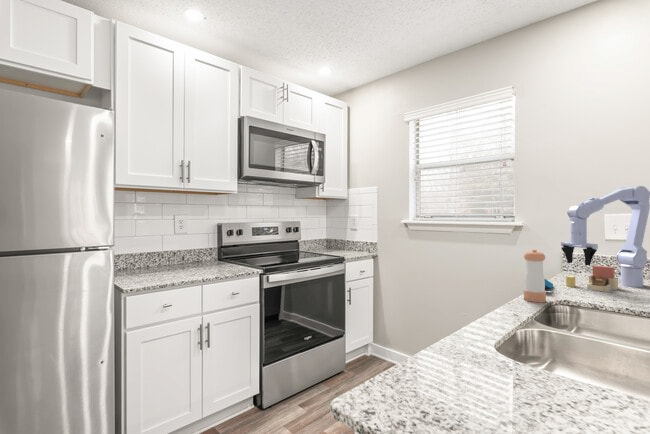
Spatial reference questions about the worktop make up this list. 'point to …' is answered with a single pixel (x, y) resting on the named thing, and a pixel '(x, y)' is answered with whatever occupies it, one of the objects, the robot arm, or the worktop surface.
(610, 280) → the jig
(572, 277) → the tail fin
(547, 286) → the lever
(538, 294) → the salt shaker
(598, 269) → the pink flat block
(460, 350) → the worktop surface
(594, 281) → the brown curved piece
